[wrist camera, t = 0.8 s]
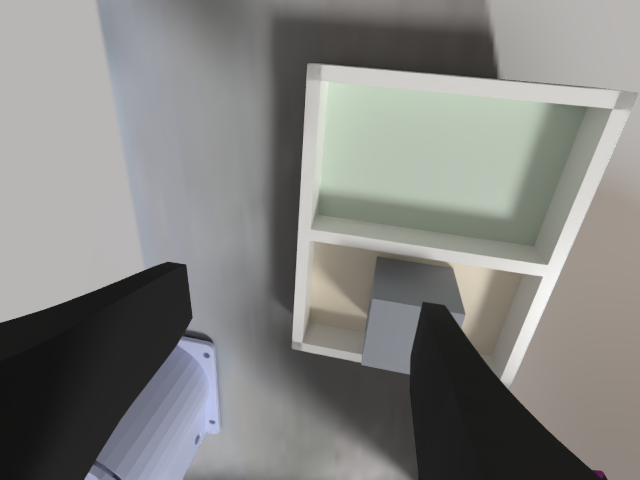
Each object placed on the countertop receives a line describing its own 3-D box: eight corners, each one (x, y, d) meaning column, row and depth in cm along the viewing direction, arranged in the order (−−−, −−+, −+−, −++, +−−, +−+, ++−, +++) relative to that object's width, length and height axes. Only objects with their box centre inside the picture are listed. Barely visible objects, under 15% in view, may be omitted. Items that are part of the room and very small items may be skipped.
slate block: (436, 327, 21) (444, 381, 17) (367, 315, 22) (360, 364, 18) (453, 268, 19) (465, 314, 16) (377, 256, 20) (372, 298, 16)
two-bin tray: (496, 358, 22) (507, 391, 20) (301, 322, 23) (291, 349, 21) (603, 88, 15) (638, 92, 13) (319, 63, 17) (307, 63, 14)
